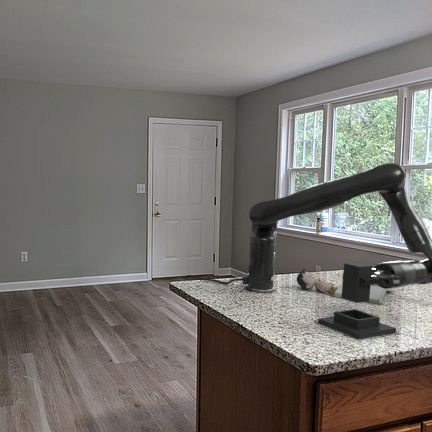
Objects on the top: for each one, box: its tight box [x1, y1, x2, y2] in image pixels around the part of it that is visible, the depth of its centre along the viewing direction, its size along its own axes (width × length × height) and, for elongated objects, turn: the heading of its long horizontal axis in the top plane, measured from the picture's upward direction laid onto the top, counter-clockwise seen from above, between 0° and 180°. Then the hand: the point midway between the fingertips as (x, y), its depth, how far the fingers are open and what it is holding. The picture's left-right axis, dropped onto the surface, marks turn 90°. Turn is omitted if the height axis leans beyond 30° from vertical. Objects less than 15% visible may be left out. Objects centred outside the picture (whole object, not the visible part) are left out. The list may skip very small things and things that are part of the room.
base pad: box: [317, 308, 397, 340], centre depth 122 cm, size 14×14×4 cm
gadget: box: [332, 281, 394, 305], centre depth 159 cm, size 23×15×4 cm, turn 141°
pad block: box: [341, 262, 373, 304], centre depth 121 cm, size 5×5×10 cm
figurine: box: [296, 268, 339, 295], centre depth 163 cm, size 10×6×15 cm
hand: (352, 279), depth 120 cm, fingers closed on pad block, 5 cm apart
